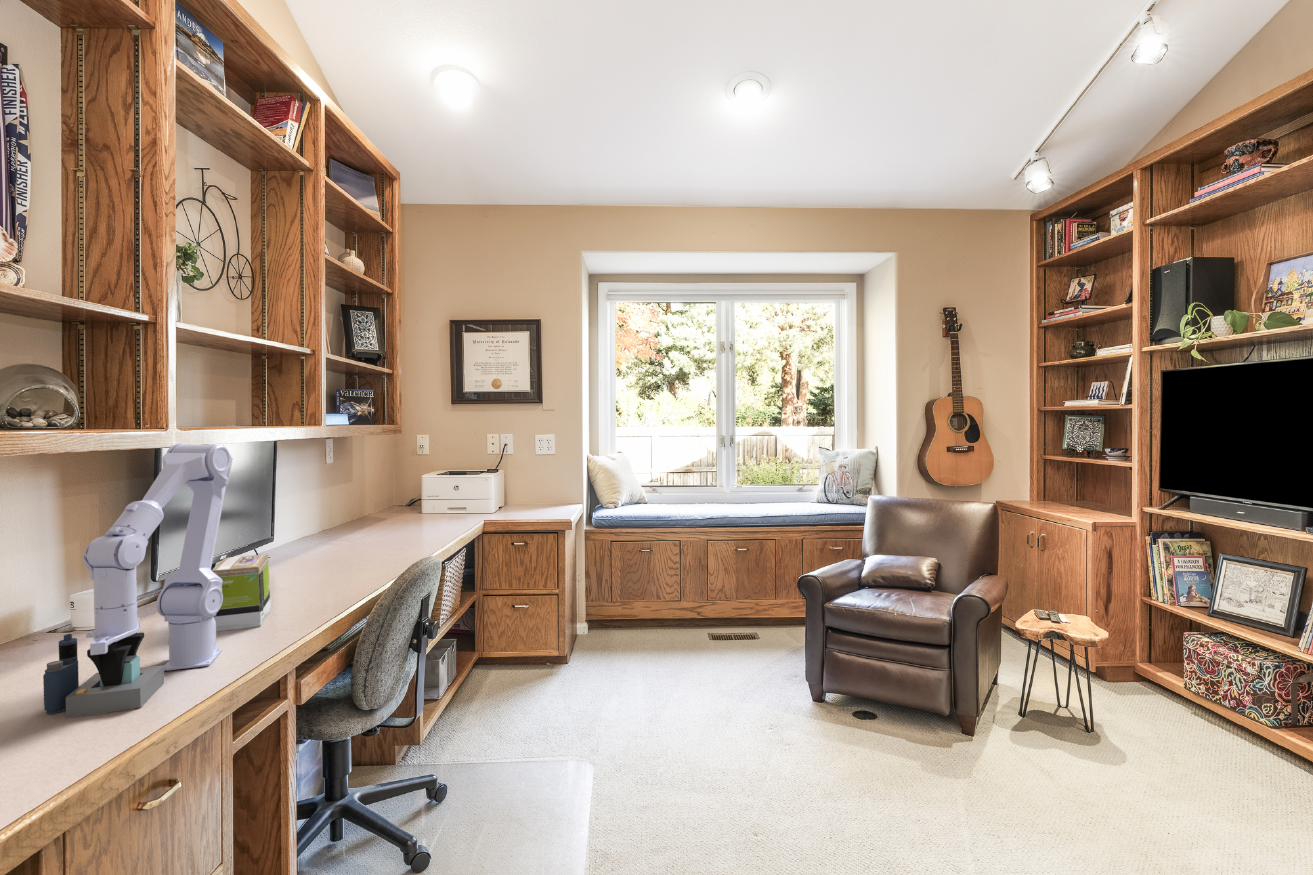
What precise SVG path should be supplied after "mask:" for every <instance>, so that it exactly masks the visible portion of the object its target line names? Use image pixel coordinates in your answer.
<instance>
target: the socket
mask: <svg viewBox="0 0 1313 875" xmlns="http://www.w3.org/2000/svg"><path fill="white" fill-rule="evenodd" d="M164 666H165V665H164V664H162V665H155V666H153V665H152V666H144V667H140V676H139V677H138V678H137V679H136V680H135V681H134V682H133V683H130V684H122V685H113V686H105V687H100V675H99V672H95V673H94V674H93V675H91V677H89V678H87V680H85V681H84V682H83V683H82V684H81V685H80V684H79V687H78V688H77V689H75V690H74V691H73V692H72V693H70V694H69V695H68V696H67V697H66V709H65V718H66V719H67V718H74V717H83V716H90V715H99V714H105V713H113V711H114V712H120V711H121V710H122V711H128V710H135V708H137V709H141V708H142V707H144V705H145V704H146V703H147V702H148V701H149V700H150V699H151V698H152V697H153V696H154V695H155V693H156V692H157V691H158V690H160V688H161V687H162V686H163V685H164V684H165V675H164V674H165V673H164V672H165V671H164ZM151 696H152V697H151ZM149 698H150V699H149ZM148 699H149V700H148ZM147 700H148V701H147ZM145 702H146V703H145Z"/></svg>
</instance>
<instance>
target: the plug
mask: <svg viewBox="0 0 1313 875" xmlns="http://www.w3.org/2000/svg"><path fill="white" fill-rule="evenodd" d="M140 668H141V658H140V655H137V654H136V655H134V656H127V657H126V660H125V664H124V670H123V678H122V682H121V685H122V684H130V683H133V682H134V681H135V680H136V679H137V678H138V677H139V676H140ZM100 687H104V686H103V683H102V680H101V677H100Z"/></svg>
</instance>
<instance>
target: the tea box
mask: <svg viewBox="0 0 1313 875" xmlns="http://www.w3.org/2000/svg"><path fill="white" fill-rule="evenodd" d="M269 558H270V557H269V554H268V553H267V554H258V555H257V554H256V555H243V556H231V557H224V558H223V559H222V560H221V561H220V562H219V563H217V565H216V566H215V567H213V568H212V569H211V571H213V572H214V573H215V574H216V575H217V576H219V577H220V578H221V579H222V580H223V582H222V594H223V602H222V605H221V608H220V609H219V611H218V612H217V613H216V615H215V616H213V618H214V619H215V622H216V633H217V632H225V631H232V630H244V629H250V628H251V629H252V628H257V627H258V628H259V627H261V626H262V624H263V623H264V621H265V619H266V618H267V616H268V615H269V612H270V611H271V609H272V608H271V606H272V605H271V587H270V586H271V584H270V562H269V561H270V559H269Z"/></svg>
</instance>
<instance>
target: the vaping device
mask: <svg viewBox="0 0 1313 875" xmlns="http://www.w3.org/2000/svg"><path fill="white" fill-rule="evenodd" d="M78 659H79V658H78V638H77V637H73V634H72V633H67V634H64V635H63V639H61V640H59V641H58V660H54V661H49V662H47V663H46V669H45V670H44V674H43V677H42V678H43V681H42V682H43V683H42V684H43V709H44V711H45V713H46V714H47V715H51V714H58V713H61V712H64V711H66V697H67V696H68V695H69V694H70V693H72V692H73V691H74V690H75V689H77V688H78V687H79V686H80V684H79V682H80V680H79V660H78Z"/></svg>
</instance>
